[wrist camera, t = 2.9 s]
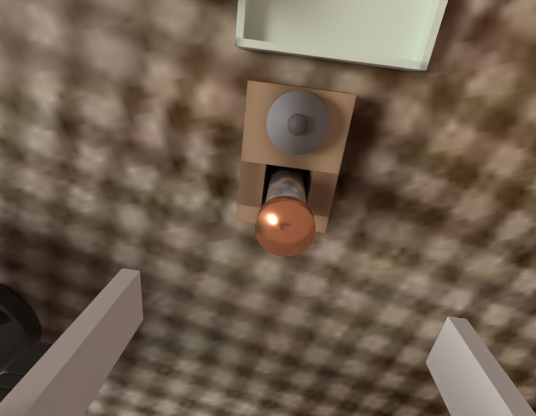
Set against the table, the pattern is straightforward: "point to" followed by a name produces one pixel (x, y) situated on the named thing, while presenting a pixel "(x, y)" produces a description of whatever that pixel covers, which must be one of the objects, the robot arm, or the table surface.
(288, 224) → the pin
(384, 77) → the table surface
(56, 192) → the table surface
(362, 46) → the tray
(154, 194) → the table surface
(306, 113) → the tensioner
